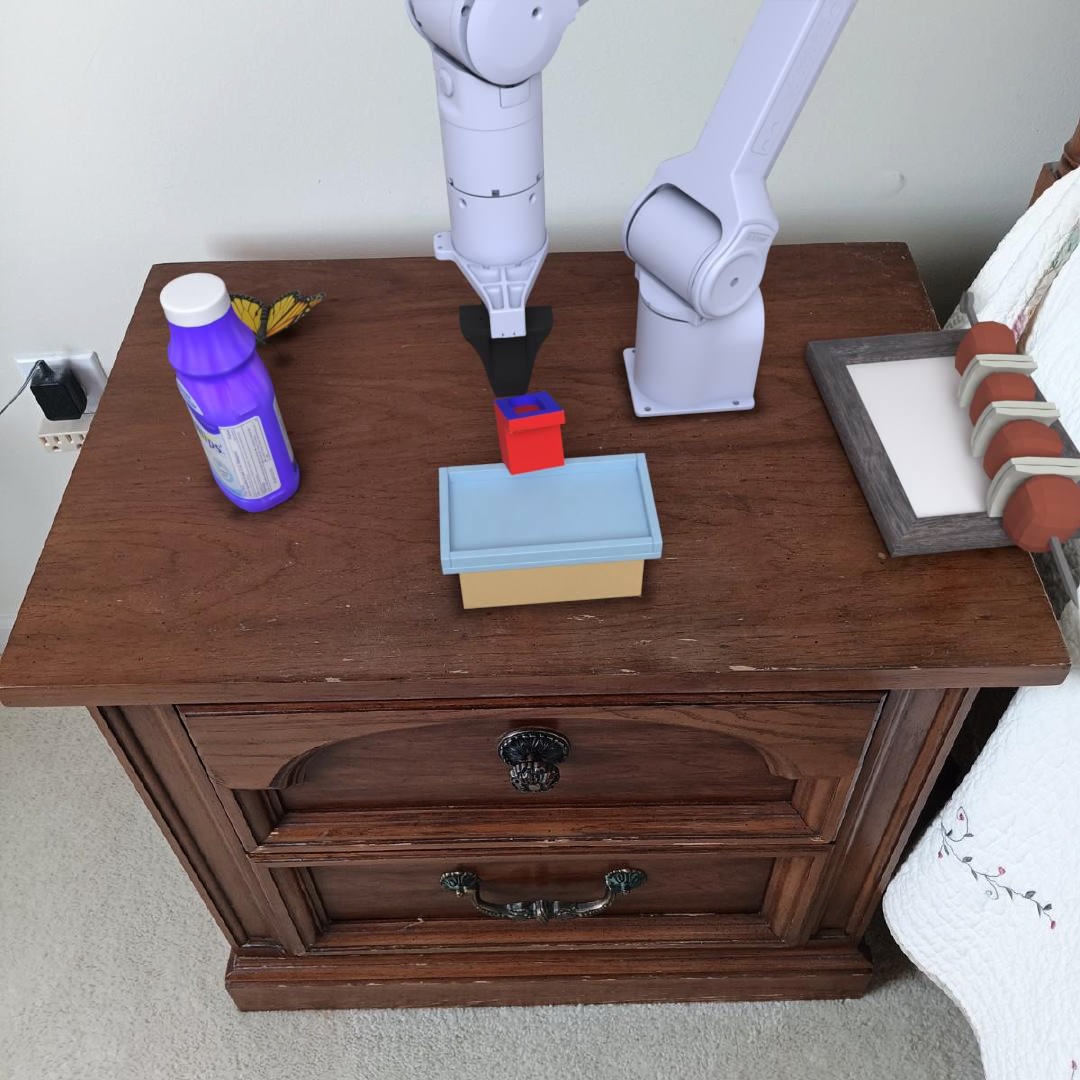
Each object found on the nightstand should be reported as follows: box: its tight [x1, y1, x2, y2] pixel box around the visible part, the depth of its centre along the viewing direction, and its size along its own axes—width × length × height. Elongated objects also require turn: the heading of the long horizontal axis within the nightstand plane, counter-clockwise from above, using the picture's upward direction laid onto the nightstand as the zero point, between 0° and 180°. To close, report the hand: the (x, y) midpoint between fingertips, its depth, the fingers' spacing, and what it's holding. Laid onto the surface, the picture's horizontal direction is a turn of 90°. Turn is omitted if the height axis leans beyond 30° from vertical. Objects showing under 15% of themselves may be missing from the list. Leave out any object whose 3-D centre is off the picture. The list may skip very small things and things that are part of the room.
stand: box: [438, 452, 663, 610], centre depth 68 cm, size 14×8×6 cm, turn 94°
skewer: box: [955, 291, 1080, 610], centre depth 71 cm, size 5×5×30 cm
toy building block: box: [493, 390, 566, 475], centre depth 66 cm, size 4×4×8 cm
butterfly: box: [228, 289, 327, 375], centre depth 84 cm, size 12×9×5 cm
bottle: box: [159, 272, 301, 513], centre depth 69 cm, size 7×6×17 cm
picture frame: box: [804, 327, 1080, 558], centre depth 76 cm, size 16×2×21 cm
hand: (506, 354), depth 68 cm, fingers open, 7 cm apart
